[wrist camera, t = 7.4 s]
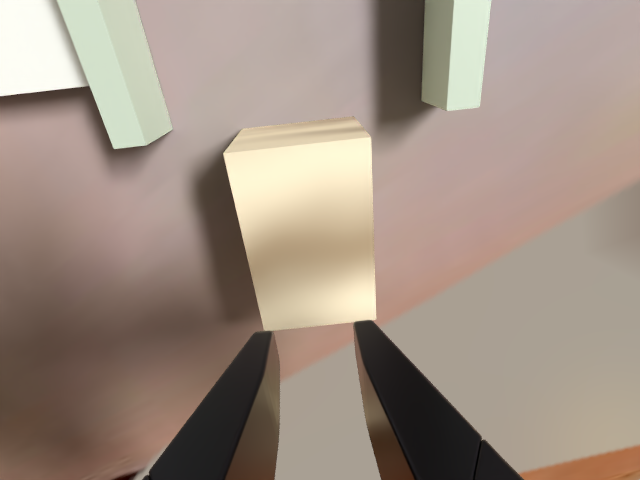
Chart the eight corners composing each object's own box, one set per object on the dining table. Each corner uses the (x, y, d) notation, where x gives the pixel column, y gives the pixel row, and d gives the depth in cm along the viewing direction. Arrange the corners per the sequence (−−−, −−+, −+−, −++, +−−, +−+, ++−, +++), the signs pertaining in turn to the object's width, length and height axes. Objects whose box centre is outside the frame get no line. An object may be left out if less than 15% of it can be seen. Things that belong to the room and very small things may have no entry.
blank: (242, 127, 16) (223, 153, 12) (353, 115, 16) (370, 137, 12) (271, 275, 19) (264, 331, 16) (360, 265, 19) (376, 319, 16)
